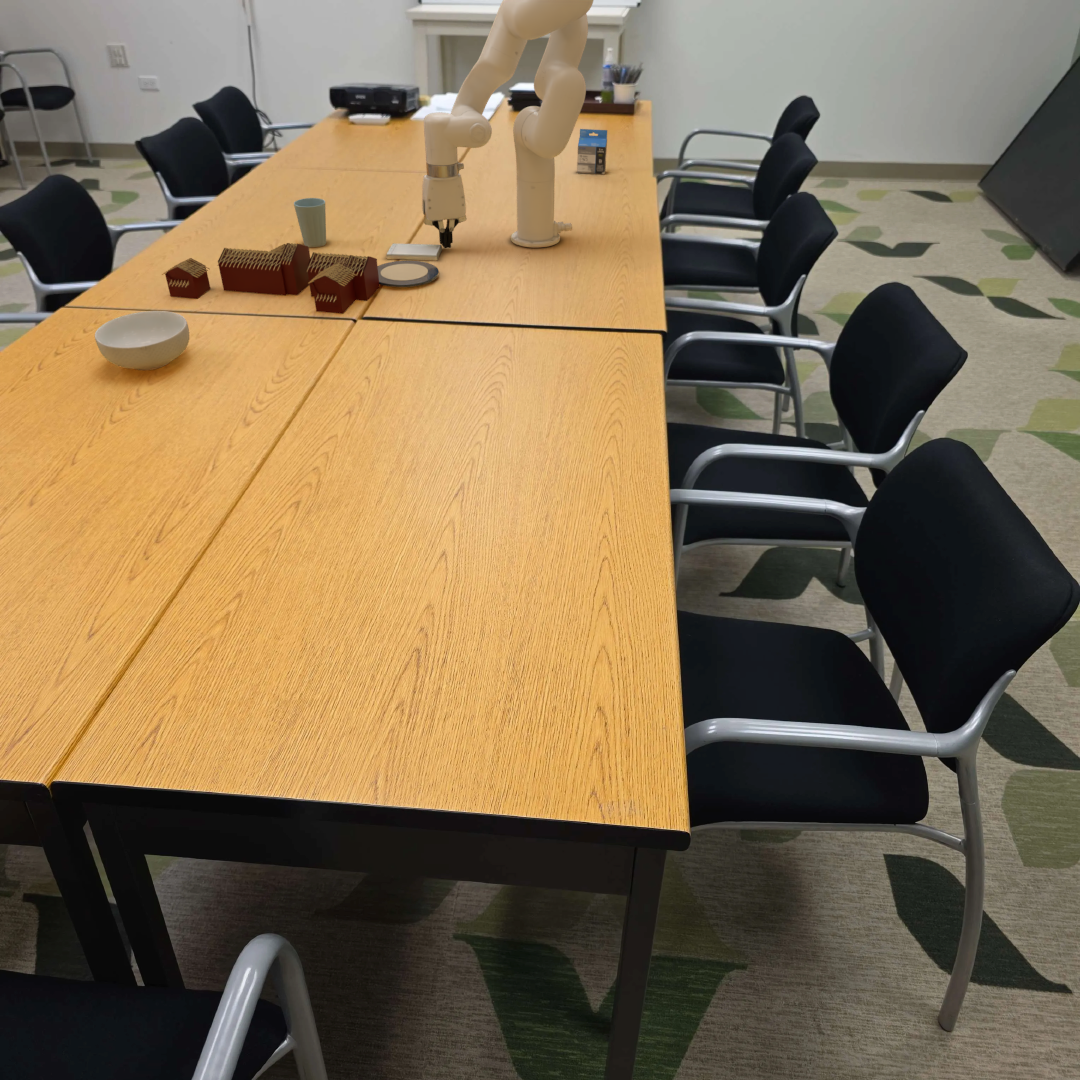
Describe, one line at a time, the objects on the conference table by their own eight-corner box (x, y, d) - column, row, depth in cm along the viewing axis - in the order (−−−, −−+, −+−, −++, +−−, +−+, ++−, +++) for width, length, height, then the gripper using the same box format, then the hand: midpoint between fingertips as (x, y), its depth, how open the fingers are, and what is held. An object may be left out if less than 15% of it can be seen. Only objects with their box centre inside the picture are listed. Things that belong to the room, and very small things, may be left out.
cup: (334, 246, 232) (328, 204, 226) (303, 250, 229) (297, 208, 223) (326, 237, 238) (321, 196, 231) (297, 241, 235) (290, 200, 229)
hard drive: (441, 244, 230) (392, 242, 230) (436, 254, 223) (386, 253, 224) (442, 250, 231) (393, 248, 231) (436, 261, 224) (386, 259, 225)
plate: (429, 262, 223) (429, 256, 222) (446, 285, 211) (446, 279, 210) (364, 270, 218) (363, 264, 217) (378, 293, 206) (377, 287, 205)
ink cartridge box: (576, 173, 289) (577, 131, 281) (578, 170, 292) (579, 128, 285) (604, 174, 288) (606, 132, 280) (605, 171, 291) (607, 129, 283)
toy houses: (383, 283, 211) (379, 239, 205) (351, 317, 195) (345, 271, 189) (204, 269, 218) (194, 226, 213) (158, 301, 202) (147, 255, 196)
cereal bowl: (118, 344, 184) (109, 311, 179) (203, 342, 185) (195, 308, 181) (92, 383, 170) (81, 347, 166) (184, 379, 171) (175, 344, 167)
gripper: (468, 163, 223) (470, 238, 234) (408, 168, 219) (413, 245, 230) (476, 171, 218) (479, 248, 229) (415, 176, 214) (420, 254, 224)
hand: (446, 246), depth 229 cm, fingers closed
